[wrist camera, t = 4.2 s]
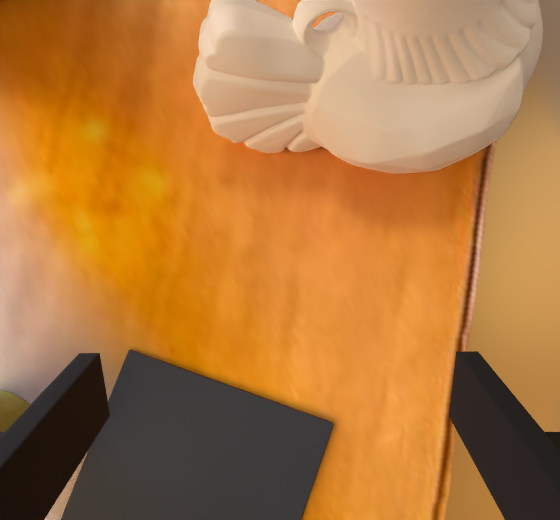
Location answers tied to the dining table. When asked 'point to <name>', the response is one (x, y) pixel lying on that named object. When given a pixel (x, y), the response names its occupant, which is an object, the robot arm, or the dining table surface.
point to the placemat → (196, 451)
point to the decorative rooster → (368, 77)
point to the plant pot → (10, 409)
